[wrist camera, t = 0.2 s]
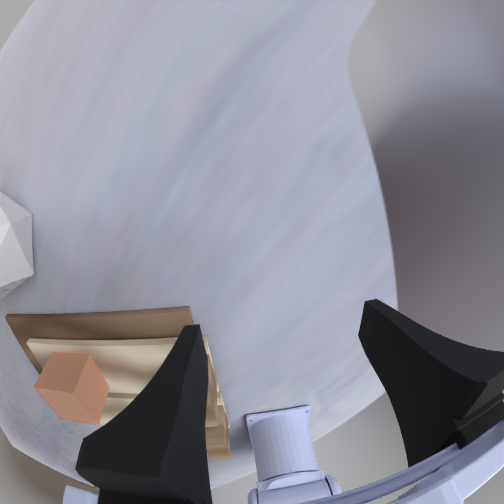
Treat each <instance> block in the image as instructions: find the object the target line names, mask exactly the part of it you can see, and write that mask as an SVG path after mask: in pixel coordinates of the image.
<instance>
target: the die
mask: <svg viewBox="0 0 504 504" xmlns="http://www.w3.org/2000/svg"><path fill="white" fill-rule="evenodd" d="M32 275H34V269H33V250H32V213H31V212H29V211H28V210H26V209H25V208H23V207H22V206H20V205H19V204H18V203H16V202H15V201H13V200H12V199H10V198H9V197H8V196H6V195H5V194H3V193H2V192H1V191H0V300H1V299H3V298H4V297H5V296H6V295H7V294H9V293H10V292H11V291H13V290H14V289H15V288H16V287H18V286H19V285H20V284H22V283H23V282H24V281H26V280H27V279H28V278H30V277H31V276H32Z"/></svg>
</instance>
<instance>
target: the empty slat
mask: <svg viewBox="0 0 504 504" xmlns="http://www.w3.org/2000/svg"><path fill="white" fill-rule="evenodd" d="M137 395H138V394H129V393H110V392H108V395H107V398H106V401H105V405H104V408H103V412H102V416H101V419H100V423H99V425H103V426H104V425H105V424H106V423H108V422H109V421H110V420H112V419H113V418H114V417H115V416H116V415H118V414H119V413H120V412H121V411H122V410H123V409H125V408H126V407H127V406H128V405H129V404H130V403H131V402H132V401H133V400H134V399H135V398H136V396H137ZM217 419H218V426H216V427H205V434H206V450H207V452H208V454H209V456H210V458H211V459H212V460H224V459H231V455H230V441H229V428H230V423H229V419H228V416H227V413H226V409H225V406H224V402H223V399H222V395H221V392H220V391H219V392H217ZM95 425H96V424H95Z"/></svg>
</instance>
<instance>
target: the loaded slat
mask: <svg viewBox="0 0 504 504" xmlns="http://www.w3.org/2000/svg"><path fill="white" fill-rule="evenodd" d="M202 337H203V341H204V345H205V349H206V353H207V357H208V376H209V381H208V394H207V407H206V421H205V427H216V426H218V419H217V392H219V384H218V381H217V377H216V373H215V369H214V365H213V361H212V358H211V354H210V350H209V345H208V341H207V337H206V335H202ZM177 338H178V337H176V338H159V339H137V340H57V339H36V338H29V340H28V341H27V345H28V346H29V348H30V350H31V351H32V353H33V354H34V356H35V358H36V359H37V361H38V362H39V364H40V365H41V367H42V368H44V366H45V364H46V362H47V360H48V359H49V357H50V355H51V353H52V352H65V353H87V354H90V355H91V357H92V358H93V360H94V362H95V364H96V365H97V367H98V369H99V370H100V372H101V374H102V375H103V377H104V379H105V380H106V382H107V383H108V385H109V387H110V388H109V391H108V392H110V393H129V394H139V393H140V392H141V391H142V390H143V389H144V388H145V386H146V385H147V384H148V383H149V381H150V380H151V379H152V378H153V376H154V375H155V373H156V372H157V370H158V369H159V368H160V366H161V365H162V363H163V362H164V360H165V359H166V357H167V355H168V354H169V352H170V351H171V349H172V347H173V345H174V344H175V342H176V340H177Z"/></svg>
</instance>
